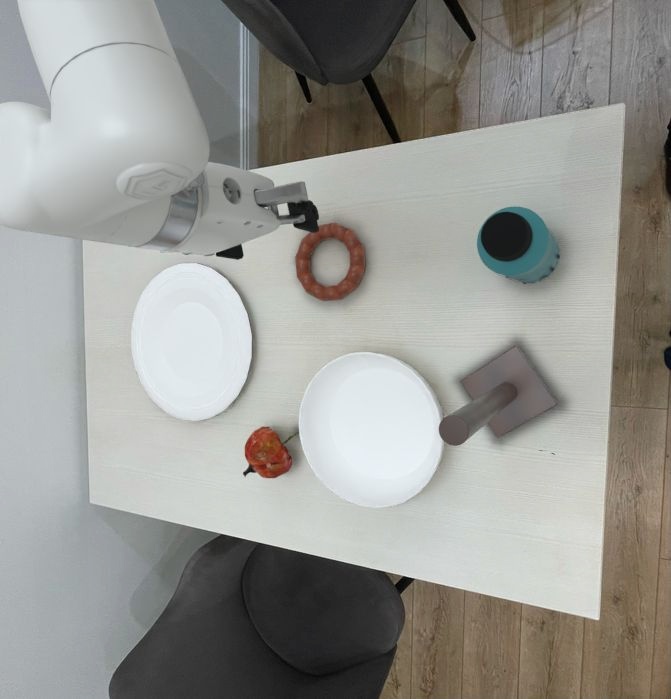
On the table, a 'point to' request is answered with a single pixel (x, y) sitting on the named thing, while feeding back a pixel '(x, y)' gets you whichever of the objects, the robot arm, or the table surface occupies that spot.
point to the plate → (191, 341)
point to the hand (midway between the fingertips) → (275, 232)
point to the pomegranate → (267, 454)
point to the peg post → (498, 398)
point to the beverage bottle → (518, 245)
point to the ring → (354, 270)
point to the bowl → (371, 429)
